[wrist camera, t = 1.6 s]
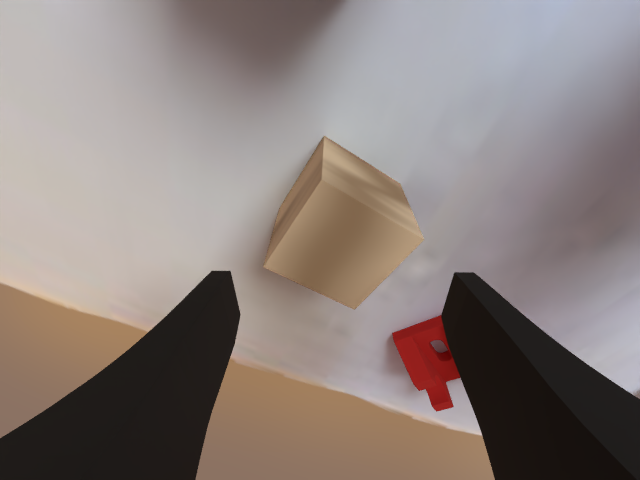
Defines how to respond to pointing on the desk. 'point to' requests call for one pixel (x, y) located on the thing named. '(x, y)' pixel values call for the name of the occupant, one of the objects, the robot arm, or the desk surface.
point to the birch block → (342, 227)
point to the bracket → (427, 360)
